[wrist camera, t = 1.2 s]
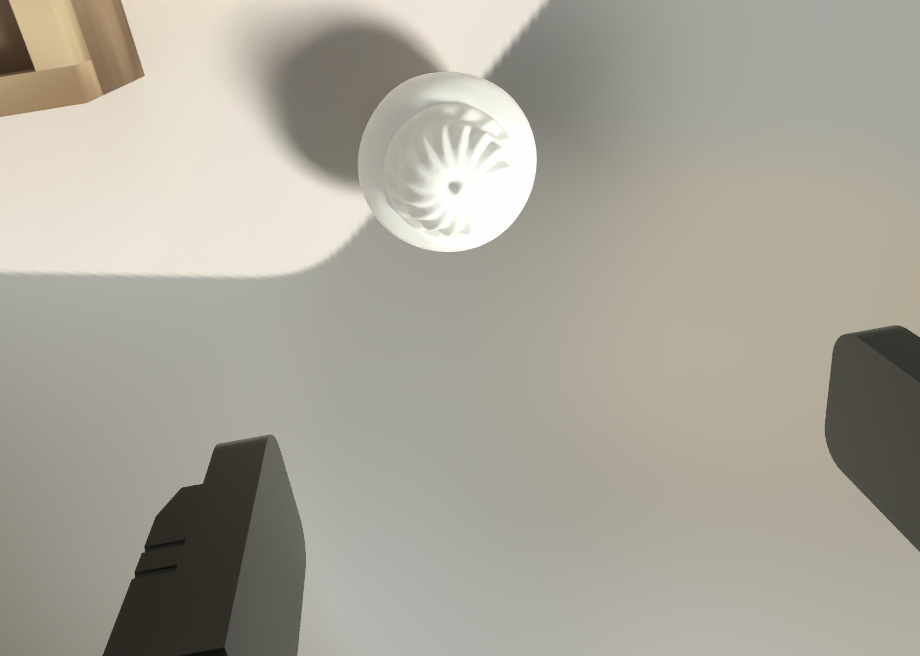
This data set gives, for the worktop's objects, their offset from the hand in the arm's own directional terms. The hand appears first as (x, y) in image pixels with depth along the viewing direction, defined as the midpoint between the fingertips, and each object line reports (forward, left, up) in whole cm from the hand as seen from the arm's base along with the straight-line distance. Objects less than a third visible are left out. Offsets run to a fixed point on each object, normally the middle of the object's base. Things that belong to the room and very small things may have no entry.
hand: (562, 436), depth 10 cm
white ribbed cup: (0, 0, -20) cm, 20 cm away
